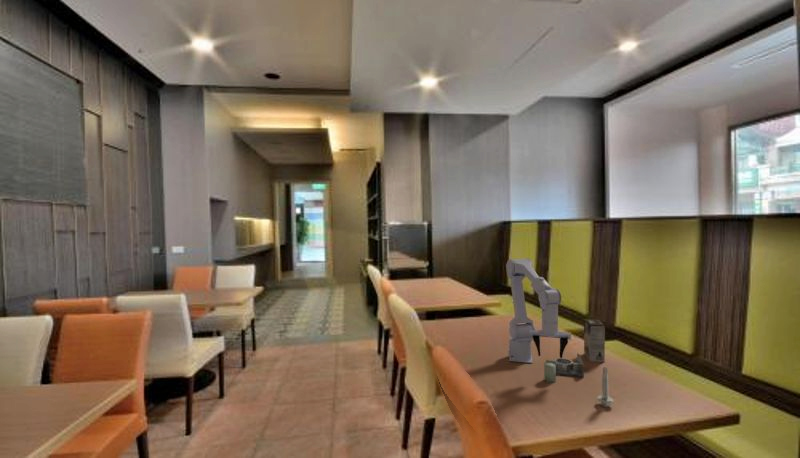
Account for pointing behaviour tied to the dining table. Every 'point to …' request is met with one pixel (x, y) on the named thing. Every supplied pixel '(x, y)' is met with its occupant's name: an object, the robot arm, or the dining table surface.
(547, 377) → the grey-green rounded cylinder
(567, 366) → the cup bracket
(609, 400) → the screw
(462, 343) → the dining table surface
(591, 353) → the coffee box
